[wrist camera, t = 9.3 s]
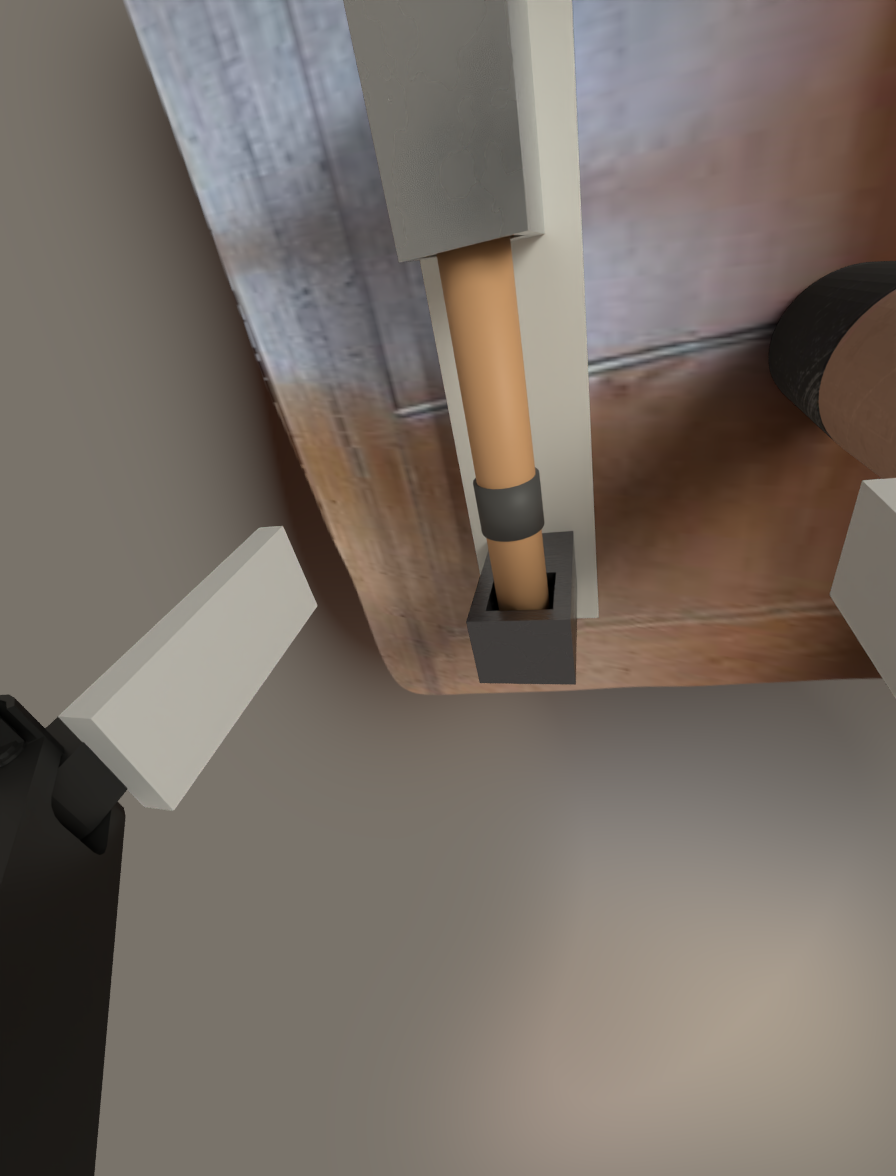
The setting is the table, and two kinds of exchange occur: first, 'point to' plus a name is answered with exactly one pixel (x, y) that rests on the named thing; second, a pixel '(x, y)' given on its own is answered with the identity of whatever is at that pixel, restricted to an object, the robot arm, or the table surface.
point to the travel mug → (844, 360)
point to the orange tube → (497, 417)
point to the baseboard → (544, 315)
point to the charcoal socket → (529, 625)
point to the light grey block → (450, 119)
